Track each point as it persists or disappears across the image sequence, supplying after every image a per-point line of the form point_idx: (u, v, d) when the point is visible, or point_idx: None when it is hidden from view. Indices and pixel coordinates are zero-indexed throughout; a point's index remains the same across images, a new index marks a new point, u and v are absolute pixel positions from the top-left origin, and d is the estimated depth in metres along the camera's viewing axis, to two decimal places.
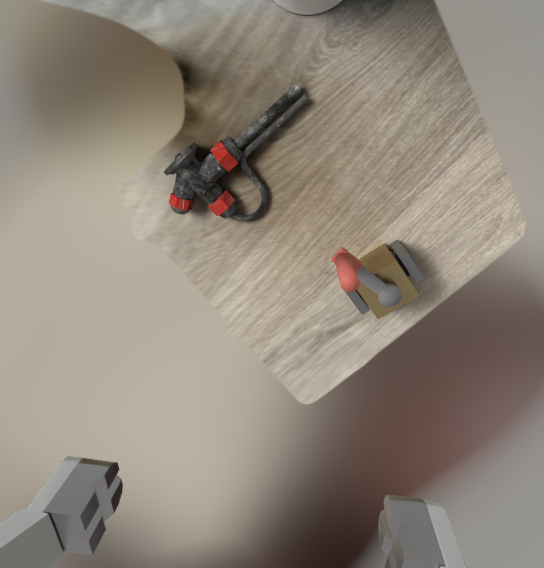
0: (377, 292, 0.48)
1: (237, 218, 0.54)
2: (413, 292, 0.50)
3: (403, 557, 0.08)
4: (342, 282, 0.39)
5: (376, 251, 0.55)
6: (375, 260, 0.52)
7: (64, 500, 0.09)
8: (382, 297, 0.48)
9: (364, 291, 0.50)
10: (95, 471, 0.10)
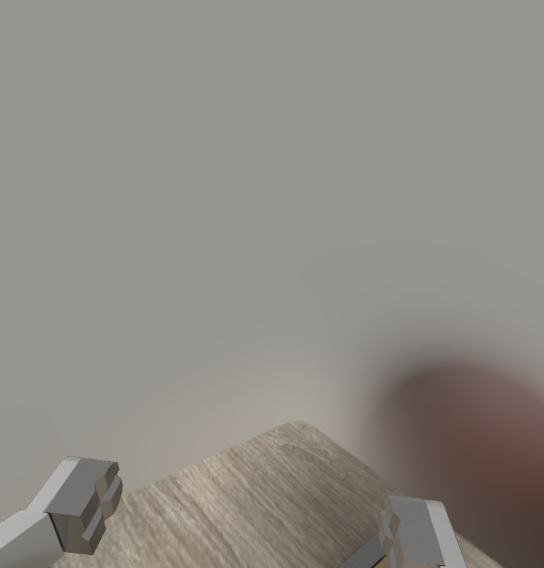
0: None
1: None
2: None
3: (403, 557, 0.08)
4: None
5: None
6: None
7: (64, 500, 0.09)
8: None
9: None
10: (95, 471, 0.10)
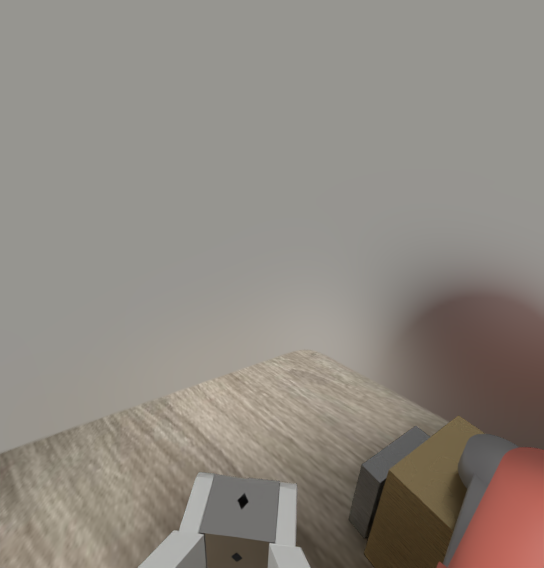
0: None
1: None
2: (456, 427, 0.21)
3: (237, 535, 0.08)
4: None
5: None
6: (415, 558, 0.17)
7: (214, 520, 0.08)
8: None
9: None
10: (234, 488, 0.09)
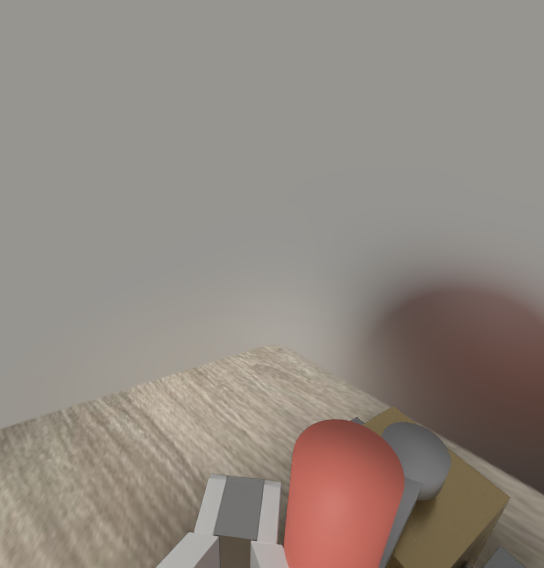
0: (414, 486, 0.15)
1: None
2: (388, 417, 0.21)
3: (219, 533, 0.08)
4: (349, 508, 0.06)
5: None
6: None
7: (229, 522, 0.08)
8: (424, 468, 0.15)
9: (431, 546, 0.14)
10: (247, 490, 0.09)
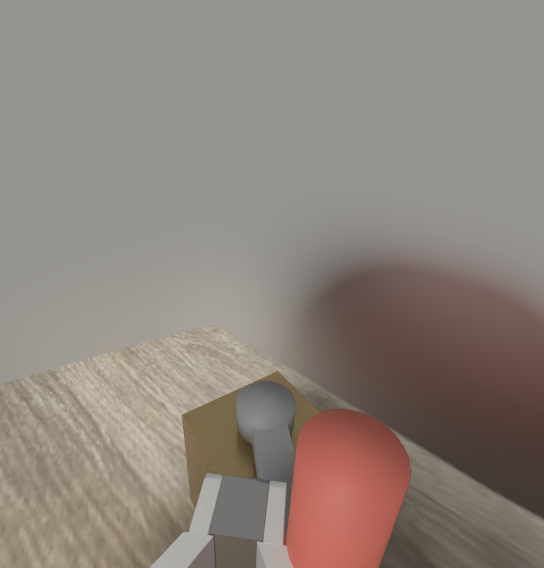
0: (284, 431, 0.17)
1: None
2: (269, 380, 0.22)
3: (225, 533, 0.08)
4: (392, 486, 0.06)
5: None
6: None
7: (224, 521, 0.08)
8: (281, 411, 0.17)
9: None
10: (242, 489, 0.09)
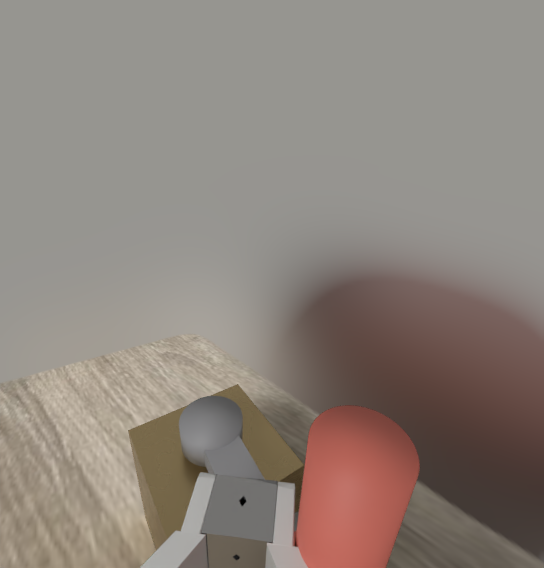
0: (237, 443, 0.16)
1: None
2: (226, 394, 0.21)
3: (234, 535, 0.08)
4: (408, 466, 0.06)
5: (150, 529, 0.20)
6: (149, 513, 0.18)
7: (216, 520, 0.08)
8: (230, 424, 0.17)
9: None
10: (235, 488, 0.09)
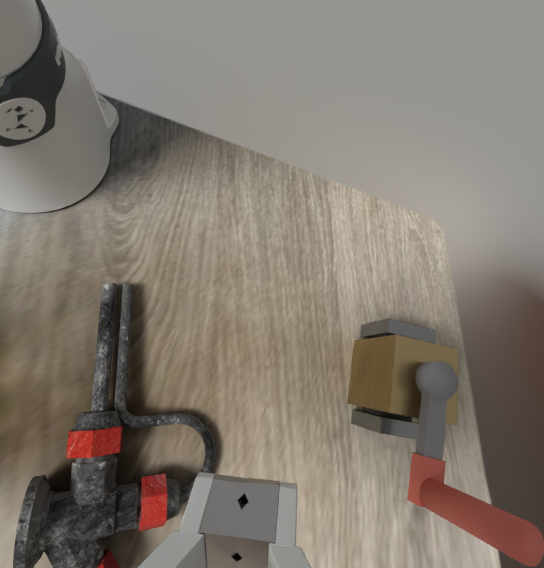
0: (444, 402, 0.29)
1: None
2: (449, 352, 0.32)
3: (237, 535, 0.08)
4: (535, 560, 0.19)
5: (357, 354, 0.37)
6: (371, 362, 0.34)
7: (214, 520, 0.08)
8: (448, 391, 0.29)
9: (407, 405, 0.30)
10: (234, 488, 0.09)
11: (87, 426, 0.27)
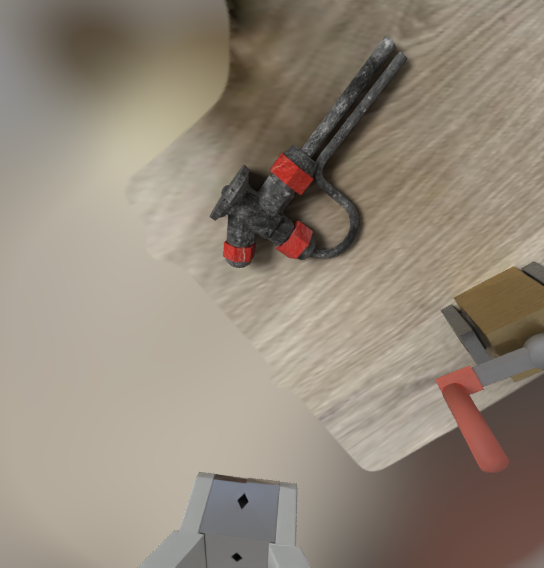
0: (531, 366, 0.32)
1: (320, 255, 0.38)
2: None
3: (237, 535, 0.08)
4: (485, 469, 0.27)
5: (503, 278, 0.37)
6: (509, 294, 0.35)
7: (214, 520, 0.08)
8: None
9: (501, 342, 0.33)
10: (234, 488, 0.09)
11: (296, 160, 0.32)
